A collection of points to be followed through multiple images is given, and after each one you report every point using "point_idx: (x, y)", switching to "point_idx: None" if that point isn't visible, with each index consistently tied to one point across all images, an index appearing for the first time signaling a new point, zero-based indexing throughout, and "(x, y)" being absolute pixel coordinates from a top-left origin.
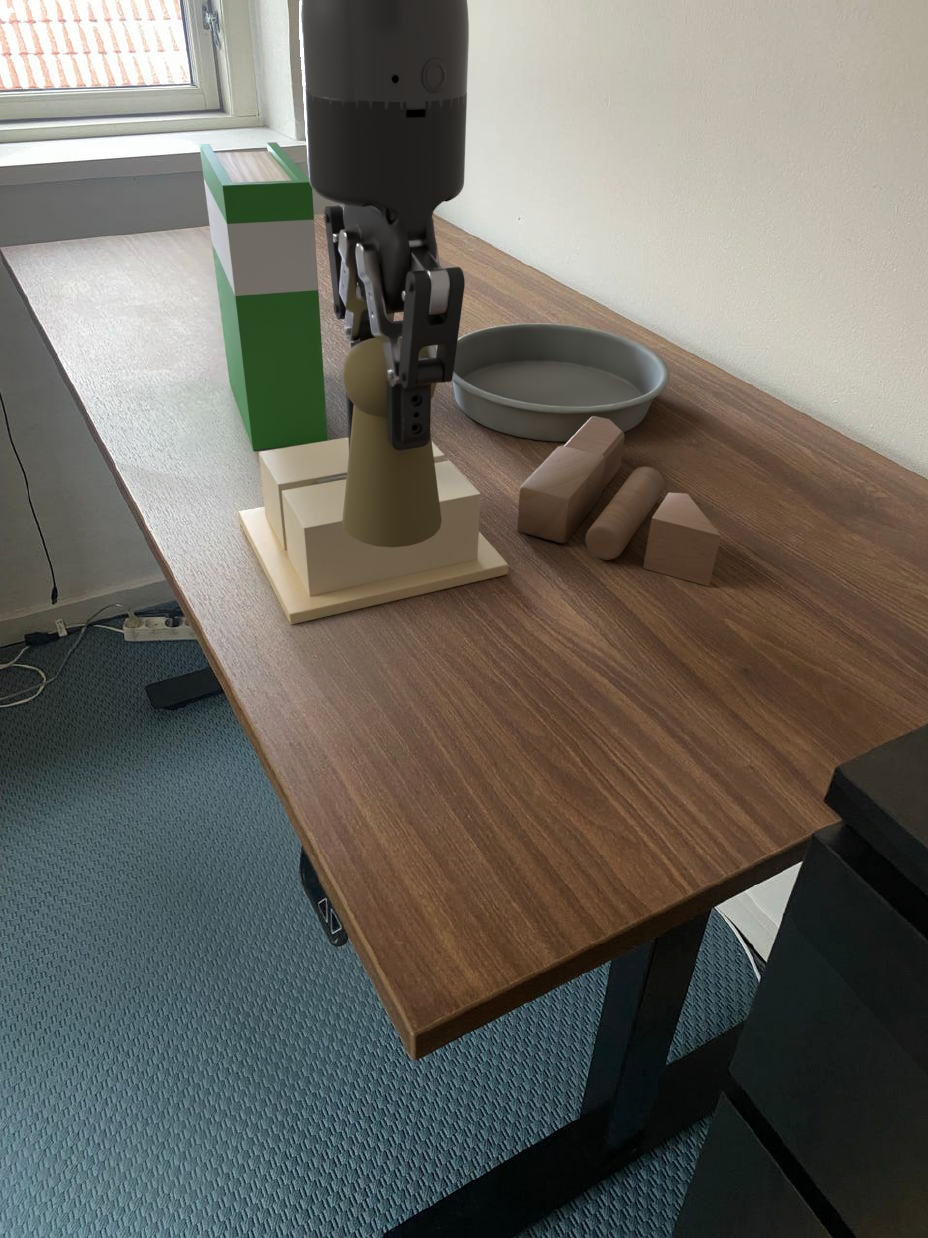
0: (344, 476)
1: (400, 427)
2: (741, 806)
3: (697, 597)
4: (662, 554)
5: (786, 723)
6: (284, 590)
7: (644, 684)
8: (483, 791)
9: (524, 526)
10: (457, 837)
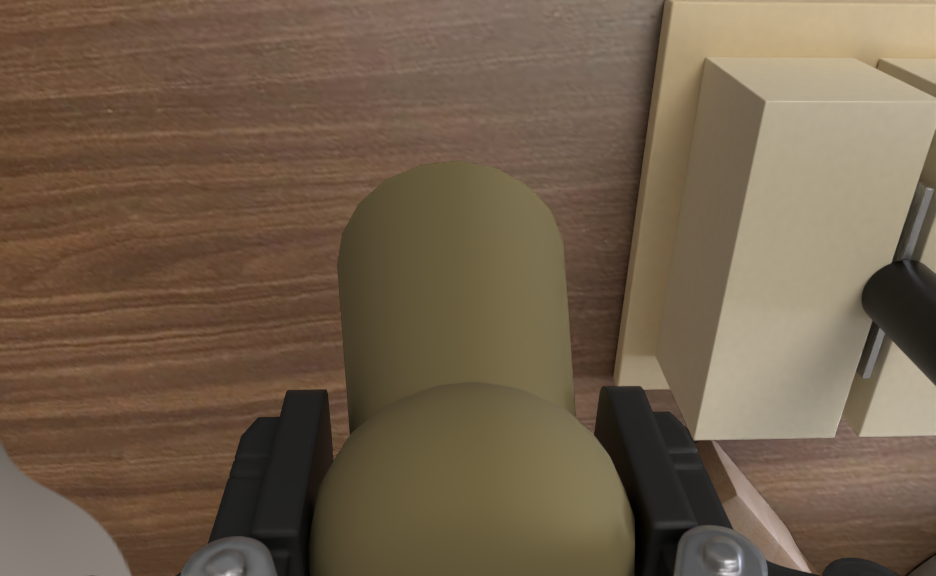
0: (909, 245)
1: (269, 448)
2: (58, 419)
3: None
4: None
5: (181, 524)
6: (751, 16)
7: None
8: (153, 150)
9: (699, 449)
10: (71, 78)
